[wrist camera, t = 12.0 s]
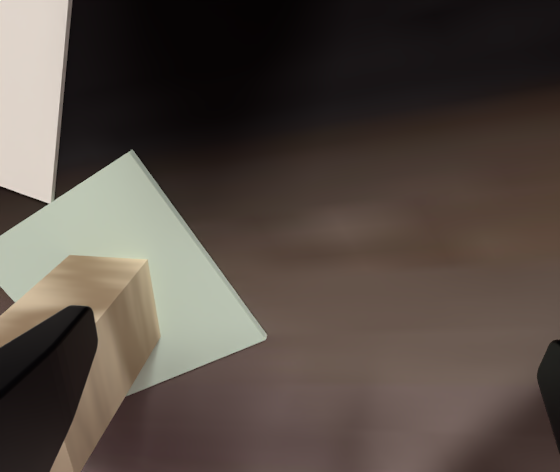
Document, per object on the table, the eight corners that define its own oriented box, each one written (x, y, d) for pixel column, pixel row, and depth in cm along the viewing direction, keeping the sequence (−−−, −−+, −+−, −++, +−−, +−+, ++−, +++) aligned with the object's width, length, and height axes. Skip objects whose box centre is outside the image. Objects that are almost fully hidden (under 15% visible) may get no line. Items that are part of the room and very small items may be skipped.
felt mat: (267, 335, 26) (265, 339, 26) (111, 398, 31) (108, 403, 30) (132, 149, 23) (128, 151, 22) (-24, 251, 27) (-29, 254, 26)
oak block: (147, 259, 25) (45, 384, 17) (160, 336, 27) (76, 478, 19) (69, 254, 25) (-64, 372, 17) (88, 330, 28) (-23, 465, 20)
